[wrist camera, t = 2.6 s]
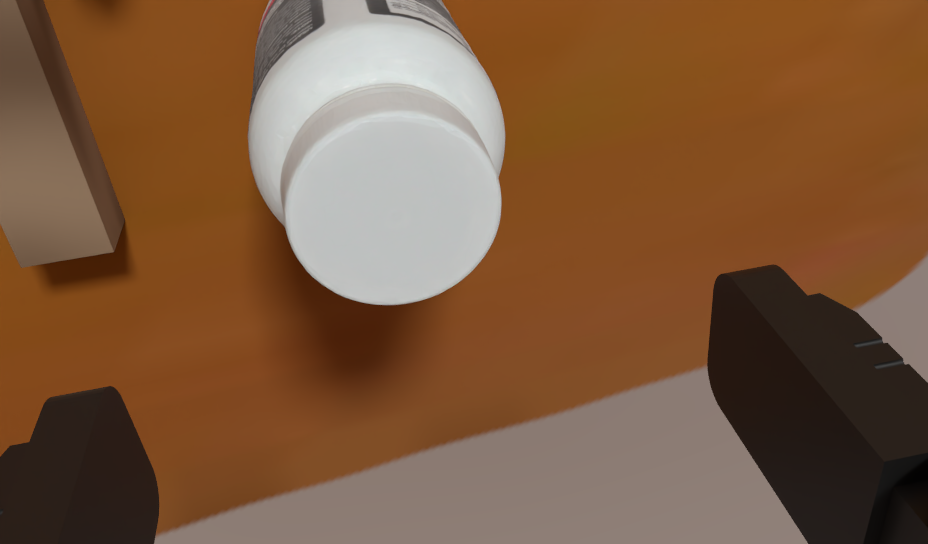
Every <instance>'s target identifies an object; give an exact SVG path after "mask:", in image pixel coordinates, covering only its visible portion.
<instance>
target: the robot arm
mask: <svg viewBox="0 0 928 544" xmlns="http://www.w3.org/2000/svg"><path fill="white" fill-rule="evenodd" d="M708 375H709V380H710V385H711V388H712V391H713V394H714V397H715V399H716V401H717V403H718V405H719V407H720V409H721V410H722V412H723V413H724V415H725V416H726V418H727V419H728V421H729V422H730V424H731V425H732V427H733V428H734V430H735V432H736V433H737V435H738V436H739V438H740V439H741V441H742V442H743V444H744V445H745V447H746V448H747V450H748V452H749V453H750V455H751V456H752V458H753V459H754V461H755V462H756V464H757V465H758V467H759V468H760V470H761V472H762V473H763V475H764V476H765V478H766V479H767V481H768V482H769V484H770V485H771V487H772V488H773V490H774V491H775V493H776V495H777V496H778V498H779V499H780V500H781V502H782V504H783V505H784V507H785V508H786V510H787V511H788V513H789V515H790V516H791V518H792V519H793V521H794V522H795V524H796V525H797V527H798V528H799V530H800V531H801V533H802V535H803V536H804V537H805V539H806V541H807V542H808V544H928V383H927V382H926V381H925V380H924V379H923V378H922V377H921V376H920V375H919V374H918V373H917V372H916V371H915V370H914V369H913V368H912V367H911V366H910V365H909V364H907V365H905V364H904V362H903V358H902V357H901V356H900V355H899V354H898V353H897V352H896V351H895V350H894V349H893V348H892V347H891V346H890V345H889V344H888V343H883V341H882V337H881V336H880V335H879V334H878V333H877V332H876V331H875V330H874V329H873V328H872V327H871V326H870V325H869V324H868V323H867V322H866V321H865V320H864V319H863V318H862V317H861V316H860V315H859V314H858V313H857V312H855V311H853V310H851V309H849V308H847V307H845V306H843V305H842V304H840V303H838V302H836V301H834V300H832V299H830V298H828V297H826V296H824V295H823V294H821V293H819V294H814V295H809V296H807V295H806V294H805V293H804V291H803V290H802V289H801V288H800V287H799V286H798V285H797V284H796V283H795V282H794V281H793V280H792V279H791V278H790V277H789V276H788V275H787V274H786V272H785V271H784V270H783V269H781V268H780V267H779V266H777V265H767V266H762V267H757V268H751V269H746V270H741V271H735V272H730V273H725V274H721V275H719V276H718V277H717V279H716V281H715V284H714V290H713V302H712V314H711V326H710V338H709V350H708ZM158 516H159V494H158V487H157V481H156V477H155V474H154V470H153V468H152V465H151V463H150V461H149V459H148V456H147V454H146V452H145V449H144V447H143V445H142V443H141V440H140V438H139V436H138V433H137V431H136V429H135V427H134V424H133V422H132V420H131V418H130V415H129V413H128V411H127V408H126V406H125V404H124V402H123V399H122V397H121V395H120V394H119V392H118V391H117V390H116V389H115V388H114V387H111V386H109V387H103V388H98V389H92V390H87V391H82V392H76V393H71V394H66V395H60V396H55V397H50V398H49V399H47V401H46V402H45V403H44V405H43V408H42V410H41V413H40V416H39V418H38V421H37V423H36V426H35V429H34V431H33V434H32V436H31V439H30V442H28V443H23V444H18V445H12V446H10V447H9V448H8V449H7V450H6V451H5V452H4V453H3V454H2V456H1V457H0V544H154V540H155V534H156V529H157V523H158Z"/></svg>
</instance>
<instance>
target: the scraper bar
mask: <svg viewBox="0 0 928 544" xmlns="http://www.w3.org/2000/svg"><path fill="white" fill-rule="evenodd" d="M124 222H125V219H124V216H123V213H122V211H121V208H120V205H119V202H118V200H117V197H116V194H115V192H114V189H113V186H112V184H111V181H110V178H109V176H108V173H107V170H106V168H105V165H104V162H103V160H102V157H101V154H100V151H99V149H98V146H97V143H96V141H95V138H94V135H93V133H92V130H91V127H90V125H89V122H88V119H87V117H86V114H85V111H84V109H83V106H82V103H81V101H80V98H79V95H78V92H77V90H76V87H75V84H74V82H73V79H72V76H71V74H70V71H69V68H68V66H67V63H66V60H65V58H64V55H63V52H62V50H61V47H60V44H59V41H58V39H57V36H56V33H55V31H54V28H53V25H52V23H51V20H50V17H49V15H48V12H47V9H46V7H45V4H44V1H43V0H0V224H1V226H2V228H3V230H4V232H5V235H6V237H7V239H8V241H9V243H10V245H11V247H12V249H13V252H14V254H15V256H16V258H17V260H18V262H19V264H20V266H21V268H22V267H28V266H34V265H40V264H46V263H52V262H58V261H64V260H70V259H76V258H82V257H88V256H94V255H99V254H105V253H111V252H114V251H115V248H116V245H117V242H118V239H119V236H120V233H121V230H122V228H123V225H124Z"/></svg>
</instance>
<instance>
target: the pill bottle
mask: <svg viewBox="0 0 928 544" xmlns="http://www.w3.org/2000/svg"><path fill="white" fill-rule="evenodd" d="M248 144H249V156H250V163H251V168H252V172H253V175H254V178H255V181H256V184H257V187H258V189H259V191H260V193H261V195H262V197H263V199H264V201H265V203H266V204H267V206H268V207H269V209H270V210H271V212H272V213H273V214H274V215H275V217H276V218H277V219H278V220H279V221H280V222H281V223H282V224H283V225H284V226H285V229H286V233H287V236H288V240H289V242H290V245H291V248H292V250H293V251H294V253H295V255H296V257H297V258H298V260H299V261H300V263H301V264H302V265H303V267H304V268H305V269H306V270H307V272H308V273H309V274H310V275H311V276H312V277H313V278H314V279H316V280H317V281H318V282H319V283H321V284H322V285H323V286H325V287H326V288H328V289H330V290H331V291H333V292H334V293H336V294H338V295H340V296H343V297H345V298H348V299H351V300H354V301H358V302H362V303H367V304H375V305H400V304H408V303H413V302H417V301H421V300H424V299H428V298H430V297H433V296H436V295H438V294H440V293H442V292H444V291H445V290H447V289H449V288H451V287H453V286H454V285H456V284H457V283H458V282H460V281H461V280H462V279H464V278H465V277H466V276H467V275H468V274H469V273H470V272H471V271H473V270H474V268H475V267H476V266H477V265H478V264H479V263H480V261H481V260H482V259H483V258H484V257H485V255H486V253H487V251H488V250H489V248H490V246H491V244H492V242H493V240H494V238H495V236H496V233H497V230H498V226H499V221H500V217H501V190H500V184H499V179H498V177H499V174H500V171H501V167H502V162H503V158H504V149H505V129H504V120H503V115H502V110H501V107H500V103H499V100H498V97H497V94H496V91H495V89H494V87H493V85H492V83H491V81H490V79H489V77H488V75H487V74H486V72H485V70H484V69H483V67H482V66H481V65H480V63H479V61H478V60H477V58H476V56H475V55H474V53H473V52H472V50H471V48H470V46H469V45H468V43H467V42H466V41H465V39H464V37H463V36H462V34H461V32H460V30H459V29H458V27H457V26H456V24H455V22H454V21H453V19H452V17H451V16H450V13H449V12H448V10H447V9H446V7H445V6H444V4H443V2H442V1H441V0H270V1H269V3H268V5H267V7H266V10H265V12H264V14H263V17H262V20H261V24H260V27H259V32H258V39H257V44H256V52H255V66H254V79H253V92H252V100H251V108H250V117H249V127H248Z"/></svg>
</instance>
